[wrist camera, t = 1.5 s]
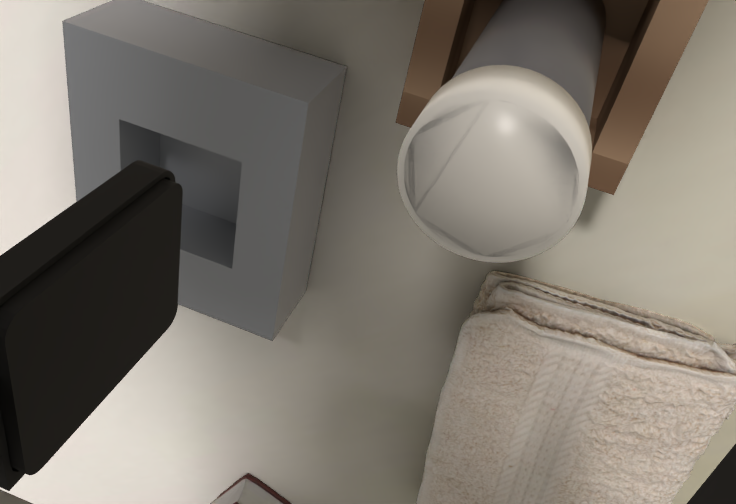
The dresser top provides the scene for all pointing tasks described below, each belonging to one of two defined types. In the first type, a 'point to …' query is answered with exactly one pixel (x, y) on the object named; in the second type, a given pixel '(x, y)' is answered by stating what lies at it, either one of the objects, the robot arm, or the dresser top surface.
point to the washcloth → (573, 401)
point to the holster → (615, 75)
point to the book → (249, 493)
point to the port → (210, 146)
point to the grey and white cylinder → (509, 134)
